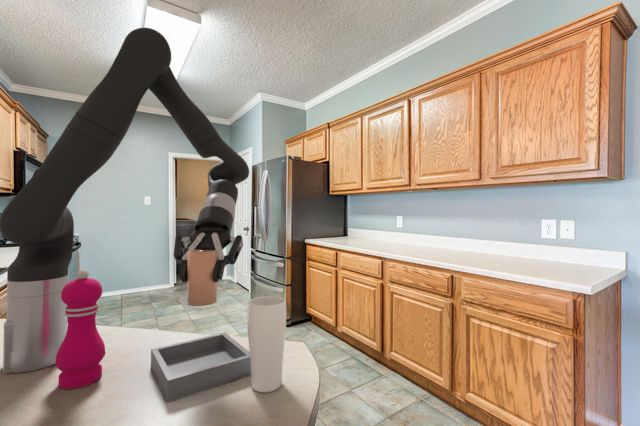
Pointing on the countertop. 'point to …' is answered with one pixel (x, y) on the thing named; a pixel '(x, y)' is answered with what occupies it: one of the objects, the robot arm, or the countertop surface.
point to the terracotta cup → (201, 277)
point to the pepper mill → (80, 334)
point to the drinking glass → (266, 341)
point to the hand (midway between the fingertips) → (199, 279)
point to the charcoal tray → (199, 365)
